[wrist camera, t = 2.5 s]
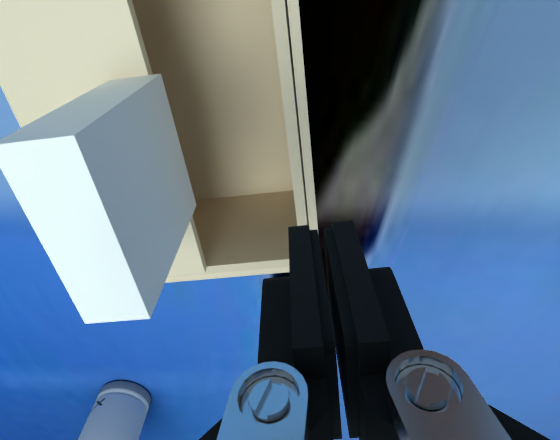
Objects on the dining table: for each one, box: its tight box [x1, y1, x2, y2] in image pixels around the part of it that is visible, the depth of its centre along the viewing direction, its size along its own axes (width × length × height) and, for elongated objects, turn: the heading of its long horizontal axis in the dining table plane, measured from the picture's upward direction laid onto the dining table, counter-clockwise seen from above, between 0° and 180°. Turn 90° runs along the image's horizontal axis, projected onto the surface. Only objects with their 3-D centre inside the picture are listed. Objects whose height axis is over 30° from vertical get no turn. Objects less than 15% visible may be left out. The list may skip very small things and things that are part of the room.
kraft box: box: [132, 0, 318, 283], centre depth 25 cm, size 15×19×10 cm
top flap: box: [0, 0, 207, 324], centre depth 16 cm, size 8×17×9 cm, turn 7°
